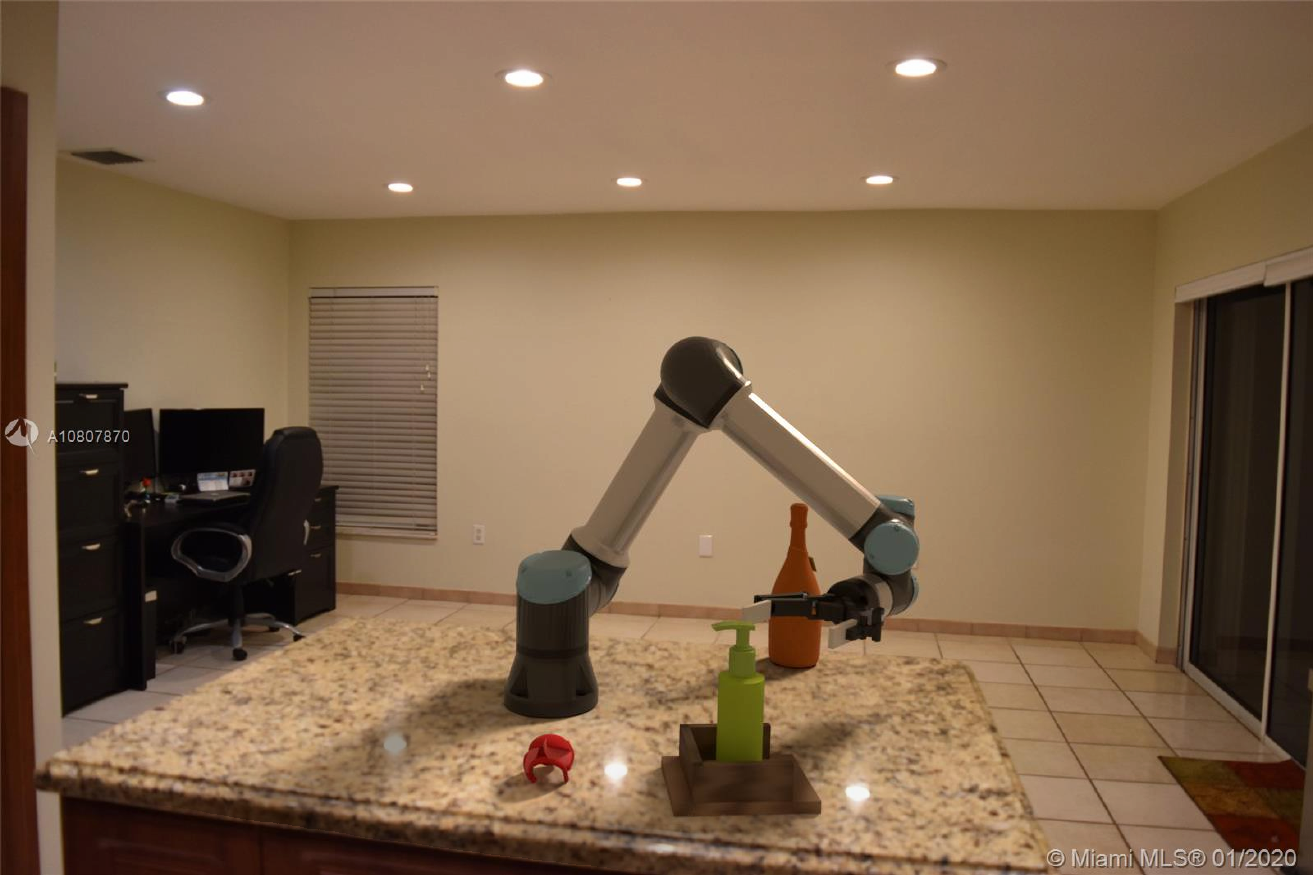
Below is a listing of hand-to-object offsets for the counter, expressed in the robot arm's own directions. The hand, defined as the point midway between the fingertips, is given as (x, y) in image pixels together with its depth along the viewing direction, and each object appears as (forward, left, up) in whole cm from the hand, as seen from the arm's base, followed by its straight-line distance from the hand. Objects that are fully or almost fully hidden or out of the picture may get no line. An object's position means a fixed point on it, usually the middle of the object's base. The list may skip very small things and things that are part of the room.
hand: (785, 627), depth 122 cm
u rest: (-7, -7, -19) cm, 22 cm away
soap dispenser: (-8, -6, -18) cm, 20 cm away
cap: (-31, -2, -19) cm, 37 cm away
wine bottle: (+14, +46, -19) cm, 52 cm away
